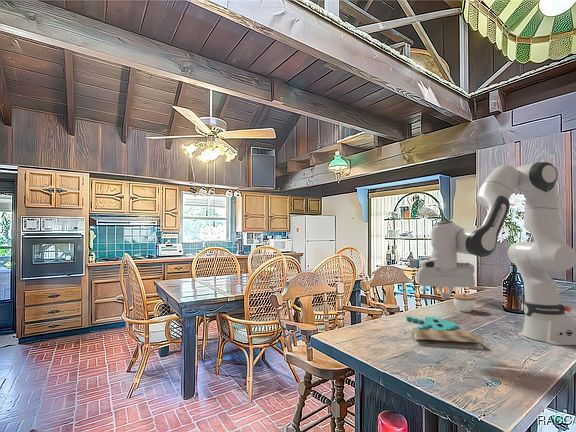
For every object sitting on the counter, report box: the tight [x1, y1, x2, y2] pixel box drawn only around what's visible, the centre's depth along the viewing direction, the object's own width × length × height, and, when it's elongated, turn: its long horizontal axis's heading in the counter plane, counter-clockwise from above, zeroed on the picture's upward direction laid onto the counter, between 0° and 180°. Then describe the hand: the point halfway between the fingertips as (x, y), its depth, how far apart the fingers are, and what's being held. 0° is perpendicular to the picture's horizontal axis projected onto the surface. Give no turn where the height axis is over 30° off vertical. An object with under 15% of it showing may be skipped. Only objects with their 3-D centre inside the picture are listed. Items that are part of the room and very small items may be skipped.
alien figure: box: [405, 315, 460, 331], centre depth 145 cm, size 20×2×20 cm
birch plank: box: [414, 333, 483, 344], centre depth 123 cm, size 23×6×2 cm, turn 75°
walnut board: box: [411, 328, 477, 339], centre depth 129 cm, size 23×6×2 cm, turn 75°
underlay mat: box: [411, 332, 485, 350], centre depth 126 cm, size 24×13×1 cm, turn 75°
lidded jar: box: [452, 292, 477, 313], centre depth 170 cm, size 11×11×9 cm
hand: (445, 298), depth 122 cm, fingers closed
